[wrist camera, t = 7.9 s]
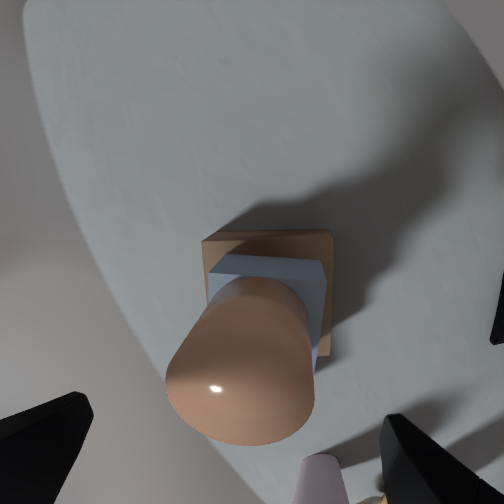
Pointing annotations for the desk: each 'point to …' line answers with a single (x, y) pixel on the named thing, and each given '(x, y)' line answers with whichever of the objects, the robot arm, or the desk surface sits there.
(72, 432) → the robot arm
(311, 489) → the smoothie
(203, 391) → the clay cylinder
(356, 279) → the desk surface
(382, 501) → the kitten
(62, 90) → the desk surface
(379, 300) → the desk surface
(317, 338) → the tower mid
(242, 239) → the tower base
